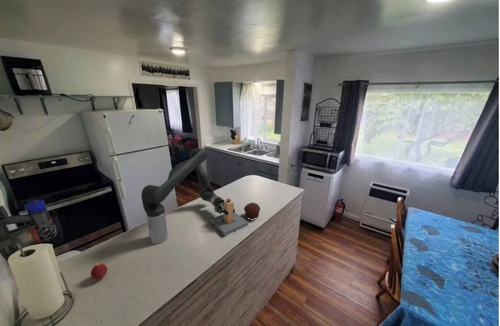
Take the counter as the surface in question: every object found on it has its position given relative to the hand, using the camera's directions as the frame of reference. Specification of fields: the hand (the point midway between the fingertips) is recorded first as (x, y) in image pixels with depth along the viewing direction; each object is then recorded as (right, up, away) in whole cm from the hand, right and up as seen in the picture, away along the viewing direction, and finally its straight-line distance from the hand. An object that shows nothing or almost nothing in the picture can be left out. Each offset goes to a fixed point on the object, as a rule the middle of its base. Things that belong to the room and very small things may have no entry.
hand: (231, 212), depth 122 cm
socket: (-2, -9, +5) cm, 11 cm away
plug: (-2, -8, +5) cm, 10 cm away
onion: (-56, -21, -35) cm, 69 cm away
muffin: (+13, -7, +14) cm, 21 cm away
